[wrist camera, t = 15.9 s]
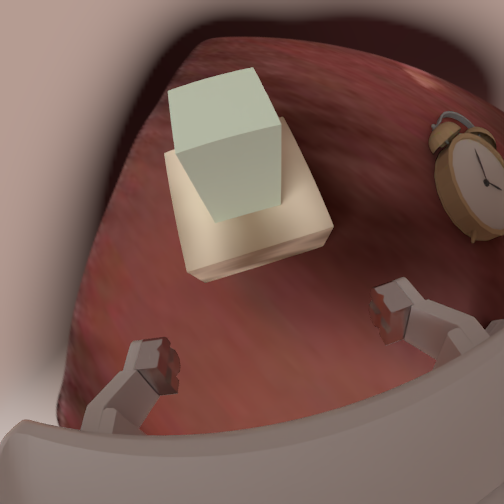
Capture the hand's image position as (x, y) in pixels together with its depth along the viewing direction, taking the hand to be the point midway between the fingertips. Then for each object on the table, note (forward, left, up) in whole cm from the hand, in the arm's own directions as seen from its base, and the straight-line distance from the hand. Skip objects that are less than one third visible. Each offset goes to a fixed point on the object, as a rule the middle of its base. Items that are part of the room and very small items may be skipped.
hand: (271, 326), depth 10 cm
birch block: (0, -10, -11) cm, 15 cm away
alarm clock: (-24, -8, -11) cm, 28 cm away
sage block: (0, -10, -6) cm, 11 cm away
